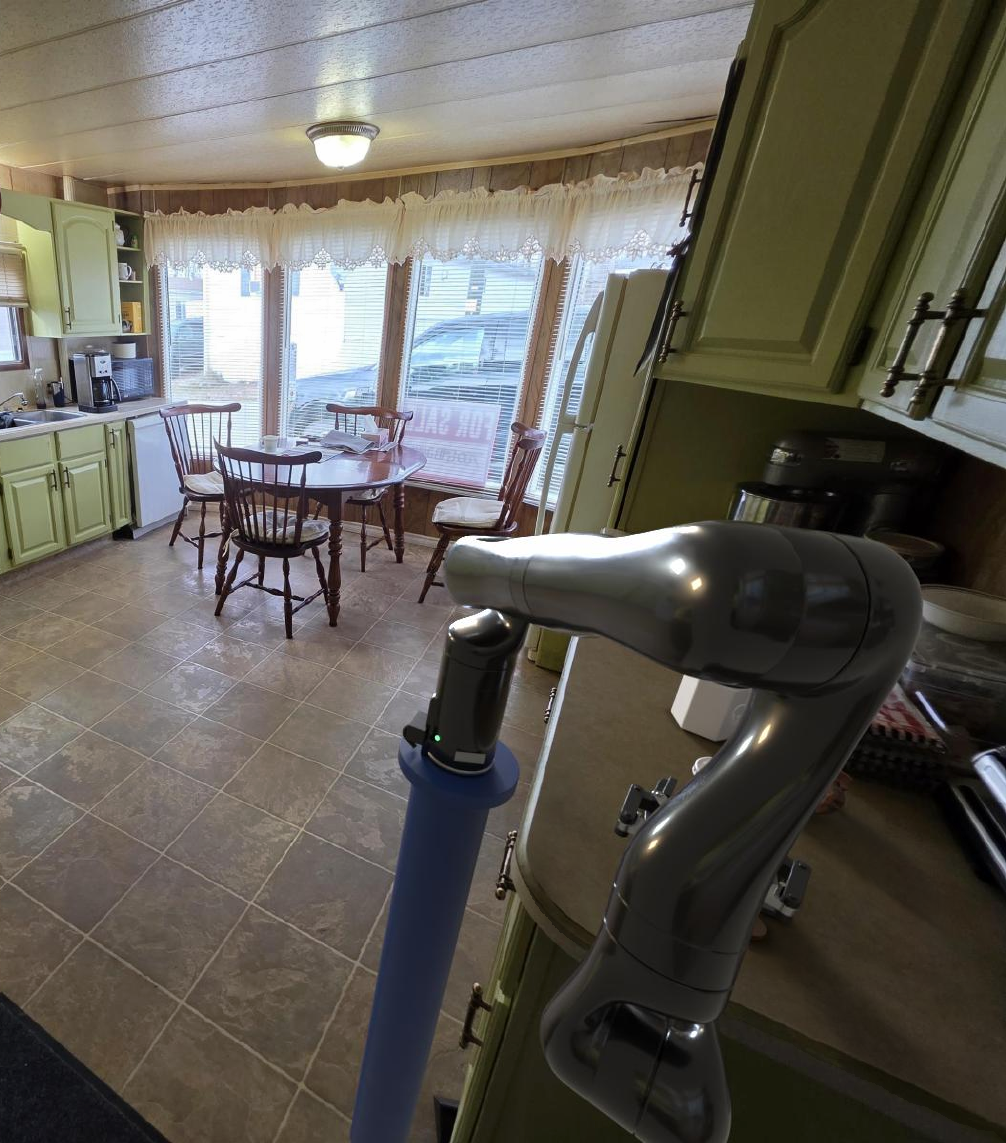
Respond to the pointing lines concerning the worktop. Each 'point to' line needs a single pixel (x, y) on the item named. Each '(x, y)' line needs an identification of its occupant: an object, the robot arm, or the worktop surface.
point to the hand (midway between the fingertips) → (719, 806)
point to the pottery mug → (834, 796)
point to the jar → (709, 707)
